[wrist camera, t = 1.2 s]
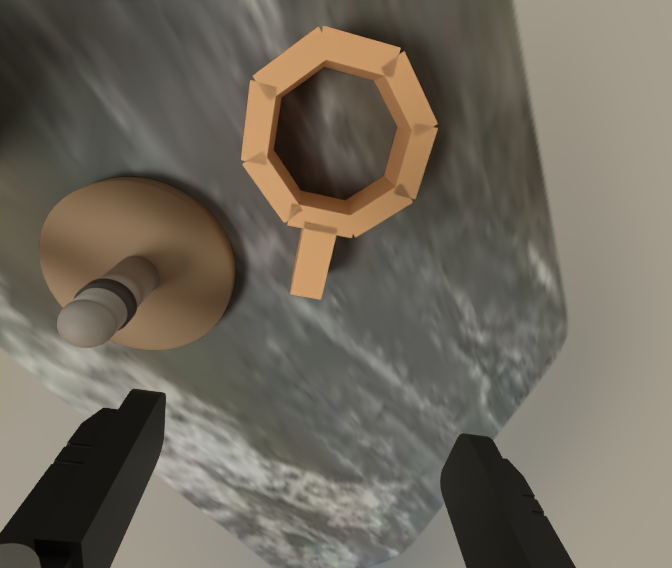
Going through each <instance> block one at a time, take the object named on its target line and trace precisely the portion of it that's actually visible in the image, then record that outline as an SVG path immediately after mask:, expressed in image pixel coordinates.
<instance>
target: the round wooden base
mask: <svg viewBox="0 0 672 568" xmlns="http://www.w3.org/2000/svg"><path fill="white" fill-rule="evenodd" d="M39 258H40V263H41V269H42V272H43V275H44V278H45V280H46V282H47V284H48V286H49V288H50V290H51V292H52V293H53V295H54V297H55V298H56V300H57V301H58V302H59V303H60V305H61V306H62V307H63V309H62V310H61V312H60V314H59V316H58V321H57V327H58V331H59V333H60V335H61V336H62V338H63V339H64V340H65V341H66V342H68V343H69V344H71V345H73V346H76V347H81V348H91V347H96V346H99V345H101V344H103V343H105V342H107V341H108V340H109V341H112V342H114V343H117V344H120V345H124V346H127V347H132V348H137V349H147V350H162V349H170V348H175V347H179V346H183V345H185V344H188V343H191V342H193V341H195V340H197V339H199V338H200V337H202V336H203V335H205V334H206V333H207V332H209V331H210V330H211V329H212V328H213V327H214V326H215V325H216V323H217V322H218V321H219V320H220V318H221V317H222V315H223V313H224V311H225V309H226V307H227V305H228V303H229V300H230V298H231V295H232V292H233V290H234V285H235V278H236V266H235V259H234V254H233V250H232V247H231V245H230V242H229V240H228V238H227V236H226V234H225V232H224V230H223V229H222V227H221V226H220V224H219V223H218V221H217V220H216V219H215V218H214V217H213V215H212V214H211V213H210V212H209V211H208V210H207V209H206V208H205V207H204V206H203V205H201V204H200V203H199V202H198V201H197V200H195V199H194V198H192V197H191V196H189V195H188V194H186V193H185V192H183V191H181V190H179V189H177V188H175V187H173V186H170V185H168V184H165V183H163V182H159V181H156V180H152V179H147V178H140V177H118V178H111V179H107V180H103V181H99V182H97V183H94V184H91V185H88V186H85V187H83V188H81V189H78V190H76V191H74V192H72V193H71V194H69V195H68V196H66V197H64V198H63V199H62V200H61V201H60V202H59V203H58V204H57V205H56V206H55V207H54V208H53V210H52V211H51V212H50V213H49V215H48V217H47V219H46V221H45V223H44V225H43V228H42V231H41V235H40V242H39Z"/></svg>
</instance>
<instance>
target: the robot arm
mask: <svg viewBox="0 0 672 568" xmlns="http://www.w3.org/2000/svg"><path fill="white" fill-rule="evenodd" d="M165 406H166V395H165V393H162V392H155V391H147V390H140V389H132V390H131V391H130V392H129V394H128V395H127V397H126V398H125V400H124V401H123V403H122V404H121V406H120V408H119V409H110V408H102V409H101V410H99V411H98V412H97V413H95V414H94V415H92V416H91V417H90V418H88V419H87V420H85V421H84V422H83V423H82V424H81V425H80V426H79V428H78V429H77V430H76V432H75V433H74V434H73V436H72V437H71V439H70V440H69V441H68V443H67V446H66V447H64V448H63V449H62V451H61V452H60V453H59V455H58V456H57V457H56V459H55V461H54V463H53V464H51V465H50V467H49V468H48V469H47V471H46V472H45V473H44V475H43V476H42V477H41V479H40V480H39V482H38V483H37V484H36V486H35V487H34V489H33V490H32V491H31V492H30V494H29V495H28V496H27V498H26V499H25V500H24V502H23V503H22V504H21V506H20V507H19V509H18V510H17V511H16V513H15V514H14V515H13V517H12V518H11V519H10V521H9V522H8V523H7V525H6V526H5V527H4V529H3V530H2V531H1V533H0V568H110V567H111V564H112V562H113V560H114V557H115V555H116V553H117V551H118V548H119V546H120V544H121V542H122V540H123V537H124V535H125V533H126V531H127V529H128V526H129V524H130V522H131V519H132V517H133V515H134V513H135V511H136V508H137V506H138V504H139V502H140V499H141V497H142V495H143V493H144V490H145V488H146V486H147V484H148V481H149V479H150V477H151V475H152V472H153V470H154V468H155V466H156V463H157V461H158V458H159V456H160V452H161V449H162V445H163V440H164V426H165ZM440 485H441V492H442V496H443V499H444V502H445V505H446V508H447V511H448V514H449V516H450V519H451V523H452V525H453V529H454V532H455V534H456V537H457V541H458V544H459V547H460V550H461V552H462V556H463V559H464V561H465V565H466V567H467V568H576V567H575V565H574V564H573V562H572V560H571V558H570V557H569V555H568V553H567V551H566V550H565V548H564V546H563V544H562V543H561V541H560V539H559V538H558V536H557V534H556V532H555V531H554V529H553V527H552V525H551V524H550V522H549V520H548V518H547V517H546V516H544V511H543V509H542V508H541V506H540V504H539V503H538V501H537V500H535V498H534V496H535V495H534V494H533V492H532V490H531V489H530V487H529V485H528V483H527V482H526V480H525V478H524V477H523V475H522V474H521V473H520V472H519V471H518V470H517V469H516V468H515V467H514V466H513V465H512V464H511V462H510V461H509V460H508V459H503V458H502V456H501V454H500V452H499V451H498V449H497V447H496V445H495V443H494V441H493V440H492V439H491V438H490V437H487V436H479V435H472V434H464V433H463V434H461V435H459V437H458V438H457V440H456V442H455V444H454V446H453V448H452V451H451V453H450V455H449V457H448V459H447V461H446V463H445V465H444V467H443V469H442V472H441V479H440Z"/></svg>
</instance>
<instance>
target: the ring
mask: <svg viewBox="0 0 672 568" xmlns="http://www.w3.org/2000/svg"><path fill="white" fill-rule="evenodd" d="M400 49H401V48H400V47H396V46H393V45H389V44H386V43H382V42H379V41H375V40H372V39H368V38H365V37H361V36H358V35H354V34H351V33H347V32H344V31H340V30H337V29H333V28H330V27H326V26H323V30H322V32H321V30H320V28H319V27H317V28H316V29H315V30H313V31H312V32H311V33H309V34H308V35H307V36H305V37H304V38H303V39H301V40H300V41H299V42H297V43H296V44H295V45H293V46H292V47H291V48H289V49H288V50H287V51H285V52H284V53H283V54H281V55H280V56H279V57H277V58H276V59H275V60H273V61H272V62H271V63H269V64H268V65H267V66H265V67H264V68H263V69H261V70H260V71H259V72H257V73H256V74H255V75H253V77H254V79H255V80H256V82H255V81H251V80H250V87H249V96H248V105H247V113H246V122H245V130H244V139H243V147H242V156H241V160H243V161H246V162H245V163H243V164H242V165H243V166H244V168H245V169H246V170H247V172H248V173H249V175H250V176H251V177H252V179H253V180H254V182H255V183H256V184H257V186H258V187H259V189H260V190H261V191H262V193H263V194H264V196H265V197H266V198H267V200H268V201H269V203H270V204H271V205H272V207H273V208H274V210H275V211H276V212H277V214H278V215H279V217H280V218H281V219H282V221H283V222H284V223H285V222H286V221H288V225H289V226H294V227H299V228H301V233H300V238H299V244H298V249H297V254H296V259H295V264H294V269H293V276H292V284H291V293H290V294H291V295H297V296H303V297H308V298H314V299H320V300H321V298H322V293H323V289H324V285H325V281H326V277H327V272H328V268H329V264H330V260H331V256H332V251H333V247H334V243H335V239H336V235H338V236H343V237H348V238H352V235H353V234H354V236H355V237H357V236H359V235H361V234H362V233H364V232H365V231H367V230H369V229H370V228H372V227H374V226H375V225H377V224H379V223H380V222H382V221H384V220H385V219H387V218H388V217H390V216H392V215H393V214H395V213H397V212H398V211H400V210H402V209H403V208H405V207H406V206H408V205H410V204H411V203H413V202H412V200H411V198H412V199H416V196H417V193H418V190H419V187H420V184H421V180H422V177H423V174H424V171H425V168H426V165H427V162H428V158H429V155H430V152H431V149H432V146H433V143H434V139H435V136H436V133H437V130H438V128H435V127H433V126H435V125H437V124H438V123H437V121H436V119H435V116H434V114H433V112H432V110H431V108H430V106H429V103H428V101H427V99H426V97H425V95H424V93H423V90H422V88H421V86H420V84H419V82H418V79H417V77H416V75H415V73H414V71H413V69H412V66H411V64H410V62H409V60H408V58H407V56H406V53H405V51H404V52H402V53H400ZM399 53H400V54H399ZM324 67H326V68H329V69H333V70H337V71H340V72H344V73H348V74H352V75H355V76H359V77H363V78H366V79H370V80H374V82H375V84H376V86H377V88H378V90H379V92H380V94H381V96H382V98H383V100H384V102H385V104H386V106H387V108H388V109H389V111H390V113H391V115H392V117H393V119H394V121H395V123H396V125H397V130H396V134H395V138H394V141H393V145H392V149H391V152H390V156H389V159H388V163H387V167H386V170H385V174H384V176H383V177H381V178H379V179H378V180H376V181H375V182H373V183H372V184H370V185H368V186H367V187H365V188H364V189H362V190H361V191H359V192H357V193H356V194H354V195H353V196H351V197H350V198H348V199H346V200H341V199H337V198H332V197H328V196H323V195H319V194H314V193H309V192H305V191H301V190H300V189H299V187H298V186H297V184H296V183H295V181H294V180H293V178H292V177H291V175H290V174H289V172H288V171H287V169H286V168H285V166H284V165H283V163H282V162H281V160H280V159H279V157H278V156H277V154H276V153H275V151H274V145H275V138H276V132H277V125H278V119H279V112H280V105H281V99H282V97H283V96H285V95H286V94H288V93H289V92H290V91H292V90H293V89H294V88H296V87H297V86H299V85H300V84H301V83H303V82H304V81H306V80H307V79H308V78H310V77H311V76H312V75H314V74H315V73H317V72H318V71H319V70H321V69H322V68H324Z"/></svg>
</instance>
